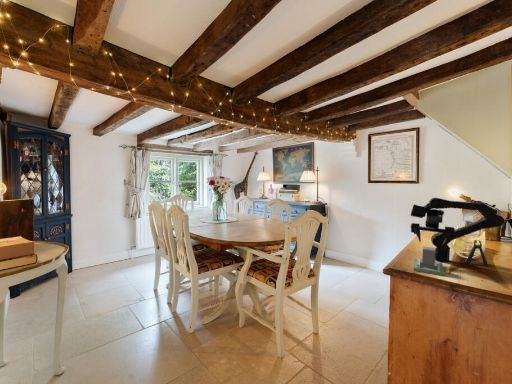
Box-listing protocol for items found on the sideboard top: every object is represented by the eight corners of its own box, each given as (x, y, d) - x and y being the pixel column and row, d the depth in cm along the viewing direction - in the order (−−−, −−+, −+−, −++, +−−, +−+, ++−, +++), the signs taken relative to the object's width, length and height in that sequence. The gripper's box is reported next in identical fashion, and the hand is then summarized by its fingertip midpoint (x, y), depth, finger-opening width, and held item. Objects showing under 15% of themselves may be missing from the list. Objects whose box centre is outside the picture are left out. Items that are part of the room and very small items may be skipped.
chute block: (434, 265, 123) (435, 247, 122) (434, 268, 119) (435, 250, 118) (422, 263, 126) (423, 246, 125) (422, 266, 122) (422, 248, 121)
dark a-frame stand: (465, 262, 131) (466, 240, 130) (465, 260, 136) (466, 238, 135) (488, 266, 125) (490, 243, 124) (487, 263, 130) (489, 241, 129)
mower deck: (442, 265, 126) (442, 260, 126) (444, 276, 114) (444, 269, 113) (414, 261, 133) (414, 256, 133) (413, 270, 120) (413, 264, 120)
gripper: (412, 208, 135) (408, 231, 127) (455, 211, 124) (455, 237, 116) (412, 220, 142) (409, 243, 134) (454, 224, 131) (453, 250, 123)
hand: (430, 243), depth 126 cm, fingers open, 9 cm apart
